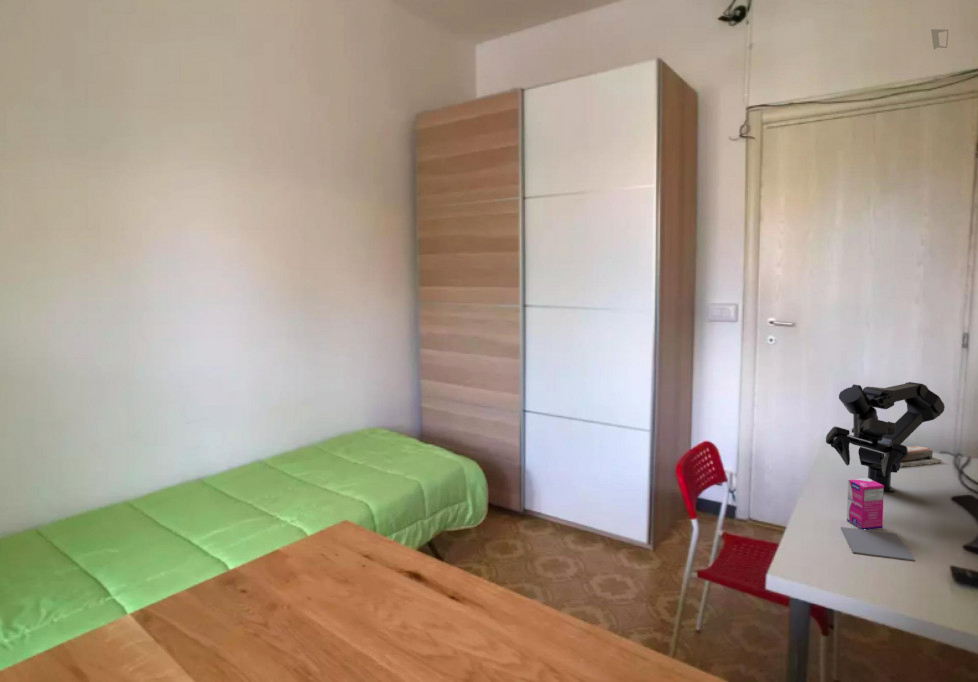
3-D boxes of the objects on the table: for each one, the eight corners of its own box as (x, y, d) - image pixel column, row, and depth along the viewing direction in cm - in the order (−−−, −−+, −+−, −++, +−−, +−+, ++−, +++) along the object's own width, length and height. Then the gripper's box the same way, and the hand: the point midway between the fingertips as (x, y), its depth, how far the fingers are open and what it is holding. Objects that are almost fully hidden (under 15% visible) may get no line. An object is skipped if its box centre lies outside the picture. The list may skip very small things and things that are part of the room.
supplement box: (845, 520, 151) (847, 478, 149) (866, 519, 151) (868, 477, 150) (861, 530, 145) (863, 486, 144) (883, 528, 145) (885, 485, 144)
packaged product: (897, 455, 188) (871, 446, 198) (896, 469, 189) (870, 460, 198) (942, 450, 192) (914, 442, 201) (941, 464, 192) (914, 455, 202)
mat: (840, 528, 147) (840, 526, 147) (896, 534, 142) (896, 533, 142) (852, 553, 134) (852, 551, 134) (914, 560, 129) (914, 559, 129)
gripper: (842, 398, 161) (842, 444, 152) (916, 418, 156) (921, 467, 147) (825, 420, 169) (824, 464, 160) (895, 439, 165) (898, 486, 155)
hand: (866, 470), depth 156 cm, fingers open, 9 cm apart
